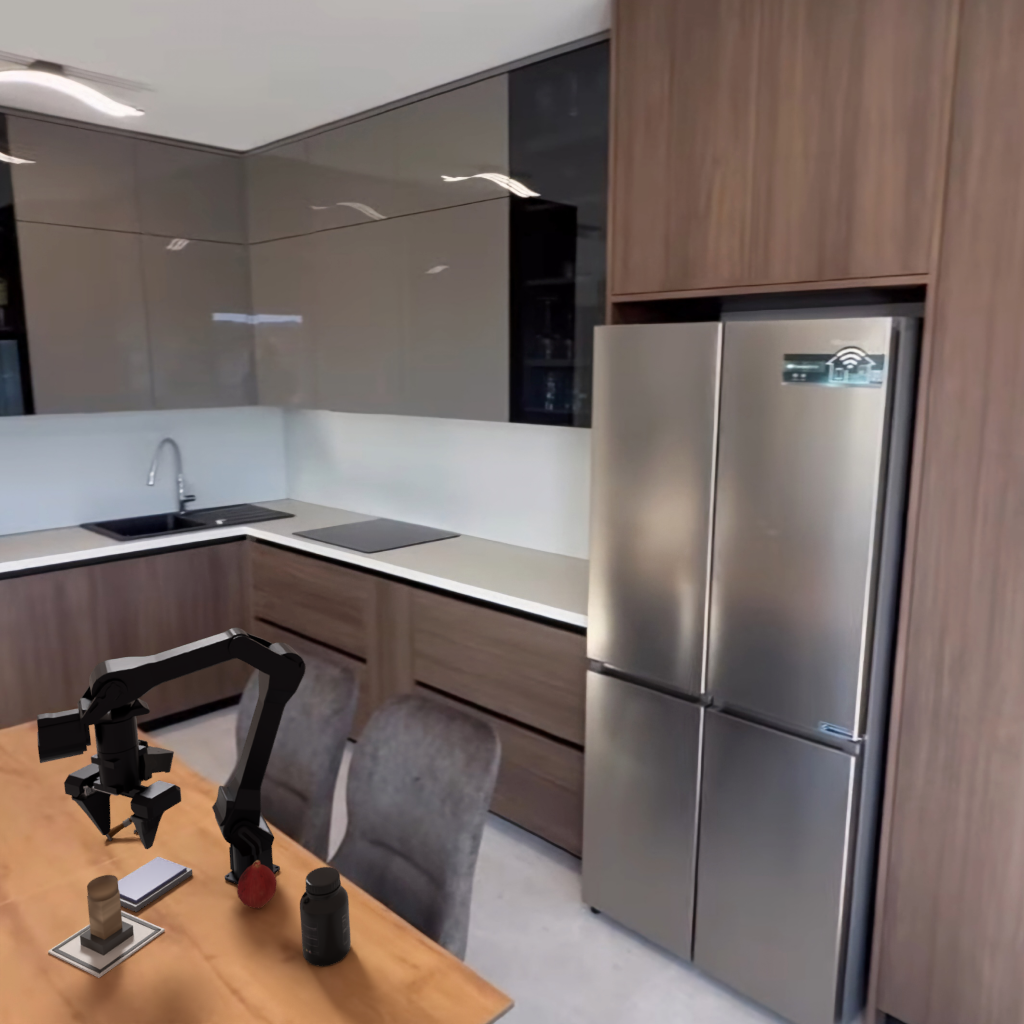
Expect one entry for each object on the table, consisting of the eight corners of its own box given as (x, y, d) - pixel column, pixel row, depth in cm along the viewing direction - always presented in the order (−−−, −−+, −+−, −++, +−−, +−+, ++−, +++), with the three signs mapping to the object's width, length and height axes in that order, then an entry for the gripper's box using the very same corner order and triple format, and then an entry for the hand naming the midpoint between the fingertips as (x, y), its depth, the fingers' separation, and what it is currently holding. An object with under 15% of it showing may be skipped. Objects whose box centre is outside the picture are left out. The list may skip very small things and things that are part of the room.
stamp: (133, 934, 122) (129, 878, 121) (103, 955, 118) (98, 897, 117) (110, 924, 125) (106, 869, 123) (80, 944, 120) (75, 887, 119)
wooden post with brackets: (160, 824, 152) (147, 806, 150) (117, 852, 149) (104, 833, 147) (158, 819, 153) (146, 801, 152) (116, 847, 150) (103, 828, 148)
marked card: (164, 930, 124) (164, 928, 124) (99, 977, 114) (98, 975, 114) (115, 909, 129) (114, 907, 129) (48, 952, 119) (47, 950, 119)
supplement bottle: (330, 929, 124) (327, 856, 122) (360, 949, 120) (358, 873, 118) (292, 954, 119) (288, 877, 117) (322, 975, 115) (318, 897, 113)
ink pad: (192, 874, 138) (191, 866, 137) (136, 912, 128) (135, 903, 128) (158, 861, 141) (158, 853, 141) (101, 897, 132) (100, 889, 131)
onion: (237, 922, 126) (234, 874, 124) (239, 899, 131) (236, 853, 130) (277, 916, 127) (275, 868, 126) (277, 893, 133) (275, 847, 131)
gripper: (205, 734, 127) (212, 828, 130) (119, 714, 135) (128, 803, 138) (145, 766, 117) (155, 866, 120) (57, 742, 125) (67, 837, 128)
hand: (127, 840), depth 127 cm, fingers open, 9 cm apart
